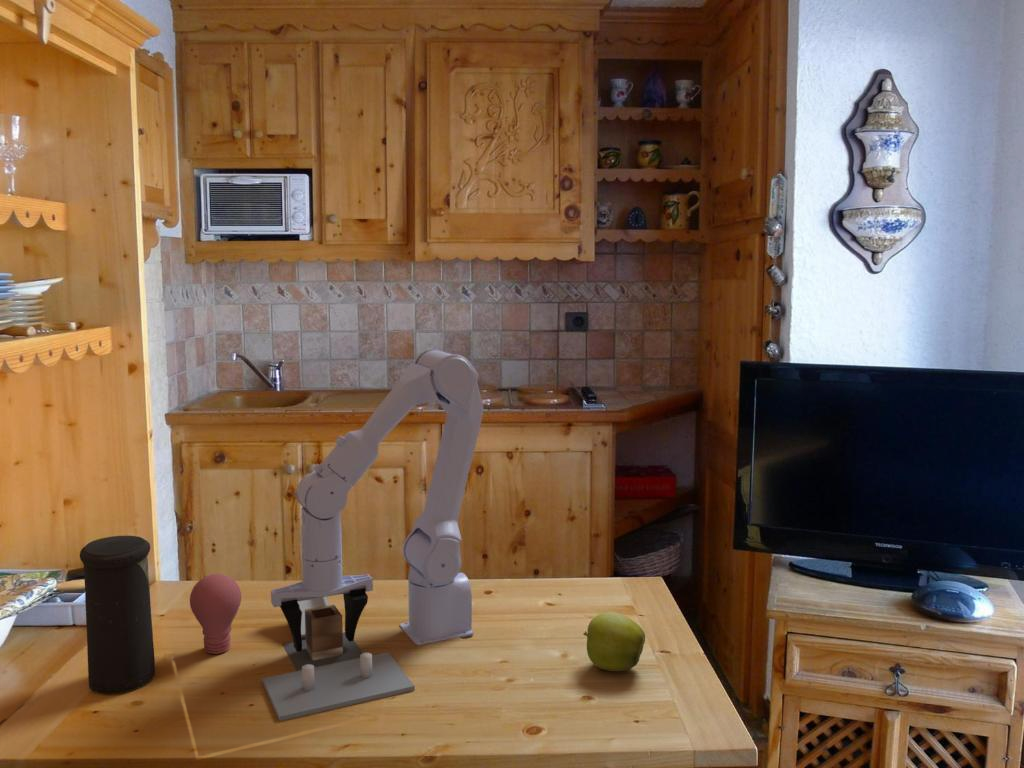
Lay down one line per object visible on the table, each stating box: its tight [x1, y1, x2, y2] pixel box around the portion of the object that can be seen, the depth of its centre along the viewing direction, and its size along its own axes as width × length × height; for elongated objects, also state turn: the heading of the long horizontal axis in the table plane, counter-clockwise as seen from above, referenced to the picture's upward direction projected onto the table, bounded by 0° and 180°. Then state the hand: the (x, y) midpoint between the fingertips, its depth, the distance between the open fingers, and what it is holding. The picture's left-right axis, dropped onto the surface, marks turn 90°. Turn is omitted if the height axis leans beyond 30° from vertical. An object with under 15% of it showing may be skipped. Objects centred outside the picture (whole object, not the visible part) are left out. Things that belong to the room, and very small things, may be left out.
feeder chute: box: [298, 597, 331, 639], centre depth 135 cm, size 6×8×6 cm
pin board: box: [261, 652, 416, 722], centre depth 117 cm, size 18×11×4 cm, turn 117°
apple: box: [582, 611, 646, 672], centre depth 124 cm, size 8×9×8 cm
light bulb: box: [189, 573, 242, 655], centre depth 127 cm, size 7×7×12 cm
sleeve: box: [304, 604, 344, 661], centre depth 127 cm, size 4×4×6 cm
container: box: [79, 535, 156, 695], centre depth 118 cm, size 9×9×20 cm
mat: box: [282, 631, 364, 671], centre depth 128 cm, size 10×10×1 cm
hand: (324, 643), depth 127 cm, fingers open, 7 cm apart
